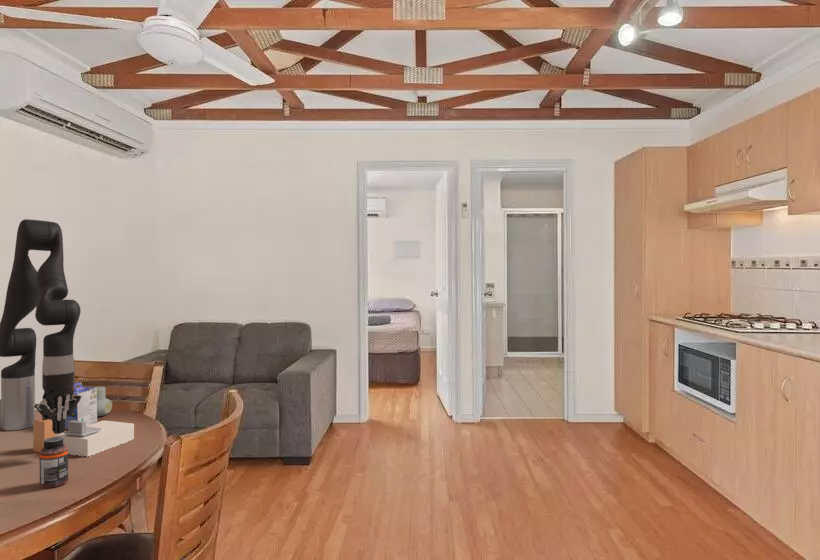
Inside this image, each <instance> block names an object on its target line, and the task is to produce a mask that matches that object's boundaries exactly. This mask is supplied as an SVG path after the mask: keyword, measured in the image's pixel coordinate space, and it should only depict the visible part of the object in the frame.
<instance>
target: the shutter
mask: <svg viewBox="0 0 820 560" xmlns="http://www.w3.org/2000/svg"><path fill="white" fill-rule="evenodd" d="M98 431H101V428H95V427H86V422H82V421H73V420H72V421H69V422H68V429H67V431H64V432H63V433H64V434H67V435H75V436H86V435H89V434H92V433H95V432H98Z"/></svg>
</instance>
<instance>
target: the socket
mask: <svg viewBox="0 0 820 560" xmlns="http://www.w3.org/2000/svg"><path fill="white" fill-rule="evenodd" d="M86 427H95V428H101V431H98V432H95V433H92V434H89V435H86V436H75V435H67V434H64V432H63V433H60V434H56V435H55V437H62V438H63V442H64V443H63V444H64V445H65V446H67V448H68V455H69V454H70V456H76V455H78V456H79V457H84V456H86V458H89V457H92V456H94V455H96V453H97V454H99V452H100V453H102V452H104V450H105V451H107V449H108V450H110V449H113V448H115V447H119V446H121V445H123V444H125V443H129V442H131V441H133V439H134V440H135V423H131V422H123V421H114V420H113V421H112V420H101V421H97V422H95V423H93V424H90V425H87V426H86ZM130 440H131V441H130ZM128 441H129V442H128ZM120 444H121V445H120ZM112 447H113V448H112ZM109 448H110V449H109ZM101 451H102V452H101ZM91 455H92V456H91ZM78 456H77V457H78ZM88 456H89V457H88Z"/></svg>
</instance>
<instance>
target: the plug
mask: <svg viewBox="0 0 820 560" xmlns="http://www.w3.org/2000/svg"><path fill="white" fill-rule="evenodd" d="M55 435H57V434H55V433H54V432H53V431H52V420H49V419H45V418H44V417H43V416H42V415H41V418H37V419H35V420H34V426H33V452H36V453H40V451H41V450H42V449H43V448H44V440H45V439H48V438H52V437H55Z"/></svg>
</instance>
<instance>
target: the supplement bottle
mask: <svg viewBox="0 0 820 560" xmlns="http://www.w3.org/2000/svg"><path fill="white" fill-rule="evenodd" d="M63 443H64V442H63V438H62V437H52V438H48V439H45V440H44V448H43V449H42V450H41V451H40V452H39V462H38V463H39V486H40V488H43V489H54V488H58V487H62V486H64V485H65V484H66V483H68V481H69V454H68V448H67V446H65V445H64V444H63Z"/></svg>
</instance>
